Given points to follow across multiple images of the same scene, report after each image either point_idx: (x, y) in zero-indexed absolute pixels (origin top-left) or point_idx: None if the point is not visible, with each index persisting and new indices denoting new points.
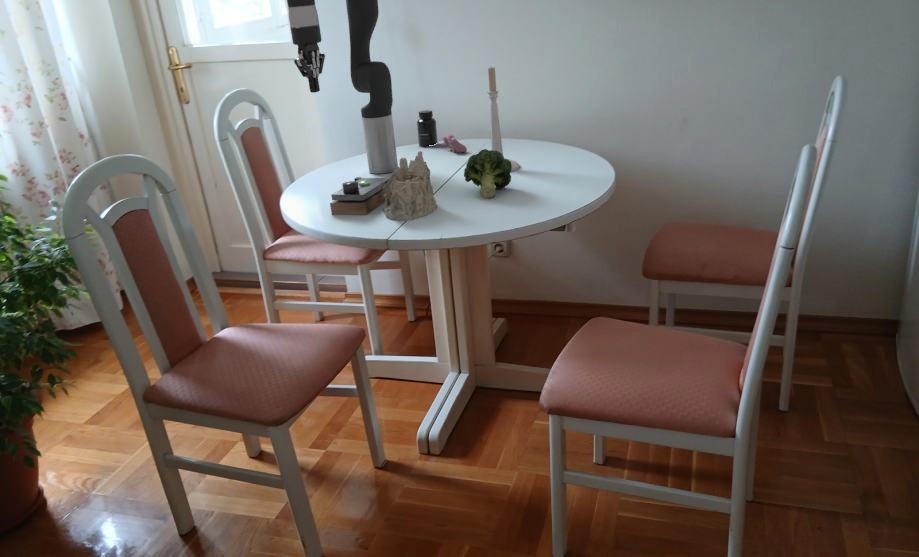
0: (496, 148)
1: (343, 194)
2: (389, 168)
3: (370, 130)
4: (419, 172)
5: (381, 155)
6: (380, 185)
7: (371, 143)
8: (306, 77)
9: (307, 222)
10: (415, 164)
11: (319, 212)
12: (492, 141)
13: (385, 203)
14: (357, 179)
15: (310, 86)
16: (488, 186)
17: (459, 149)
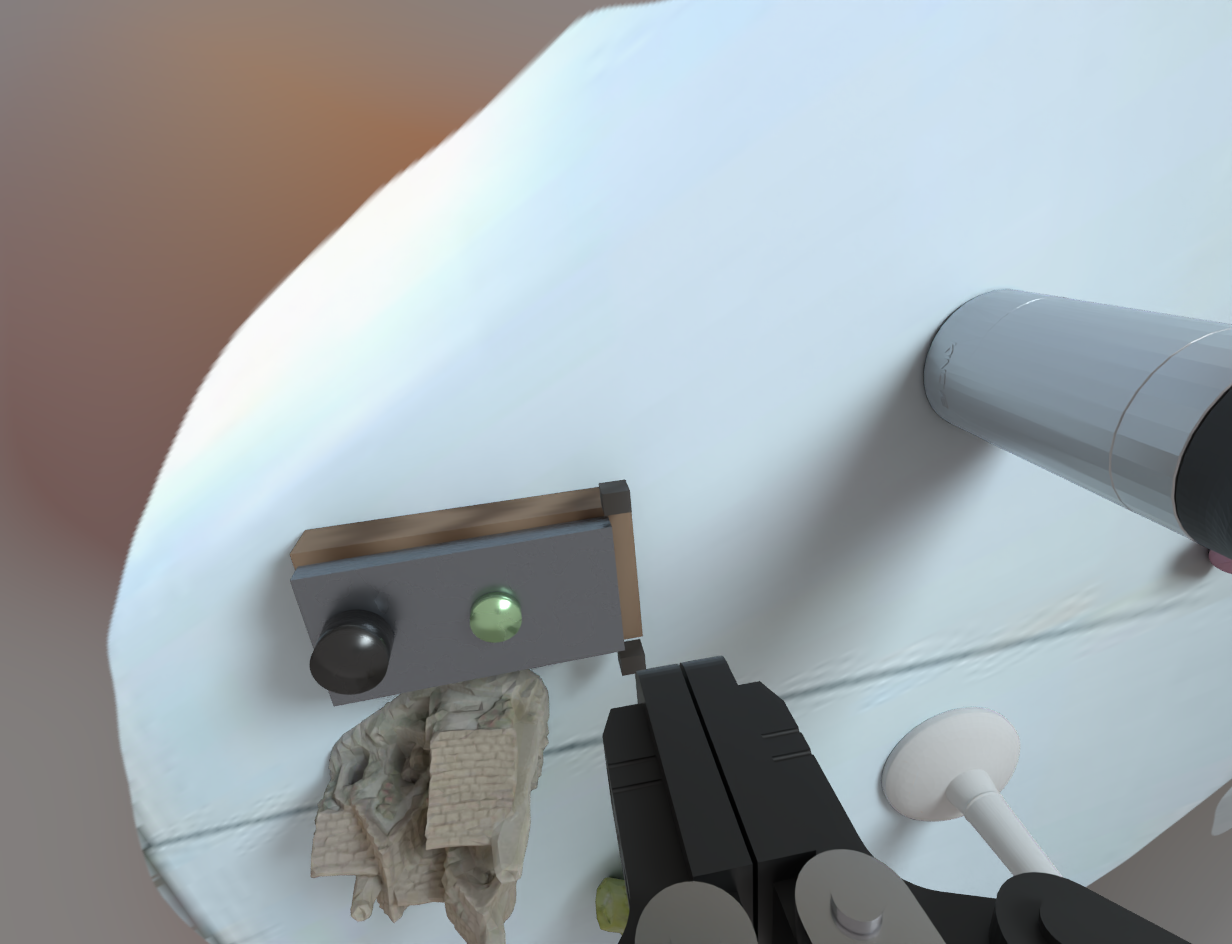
0: (980, 833)
1: (310, 630)
2: (951, 422)
3: (1102, 426)
4: (452, 915)
5: (984, 422)
6: (513, 668)
7: (1036, 397)
8: (641, 921)
9: (169, 496)
10: (471, 922)
11: (310, 460)
12: (1005, 846)
13: (447, 685)
14: (603, 507)
15: (611, 785)
16: (605, 929)
17: (1217, 558)
